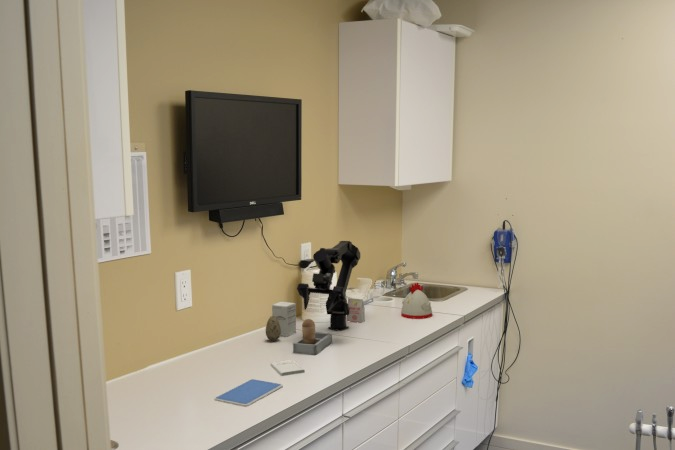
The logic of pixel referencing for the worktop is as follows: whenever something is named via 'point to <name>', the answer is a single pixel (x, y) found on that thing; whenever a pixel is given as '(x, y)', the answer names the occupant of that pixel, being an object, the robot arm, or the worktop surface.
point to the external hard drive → (287, 367)
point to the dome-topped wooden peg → (308, 332)
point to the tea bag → (356, 310)
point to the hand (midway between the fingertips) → (316, 310)
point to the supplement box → (285, 317)
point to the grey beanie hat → (416, 304)
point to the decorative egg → (273, 329)
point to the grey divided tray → (321, 343)
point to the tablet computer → (248, 392)
